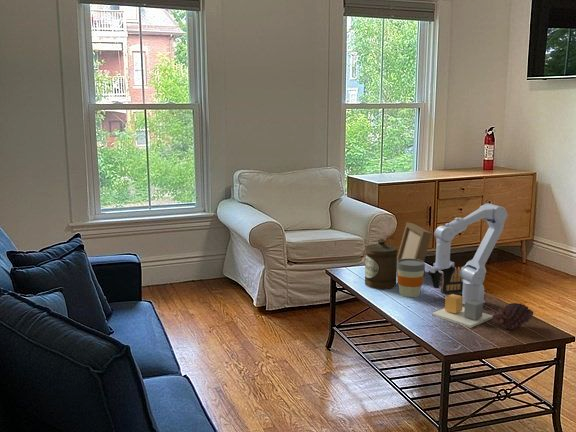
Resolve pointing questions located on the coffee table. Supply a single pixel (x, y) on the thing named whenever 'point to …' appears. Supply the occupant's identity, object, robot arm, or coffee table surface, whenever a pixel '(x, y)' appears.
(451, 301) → the amber foam cube
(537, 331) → the coffee table surface
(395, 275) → the wooden container
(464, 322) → the board
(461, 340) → the coffee table surface
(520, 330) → the coffee table surface
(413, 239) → the photo frame
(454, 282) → the ammunition clip
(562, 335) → the coffee table surface
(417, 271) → the reusable coffee cup
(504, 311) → the pine cone
